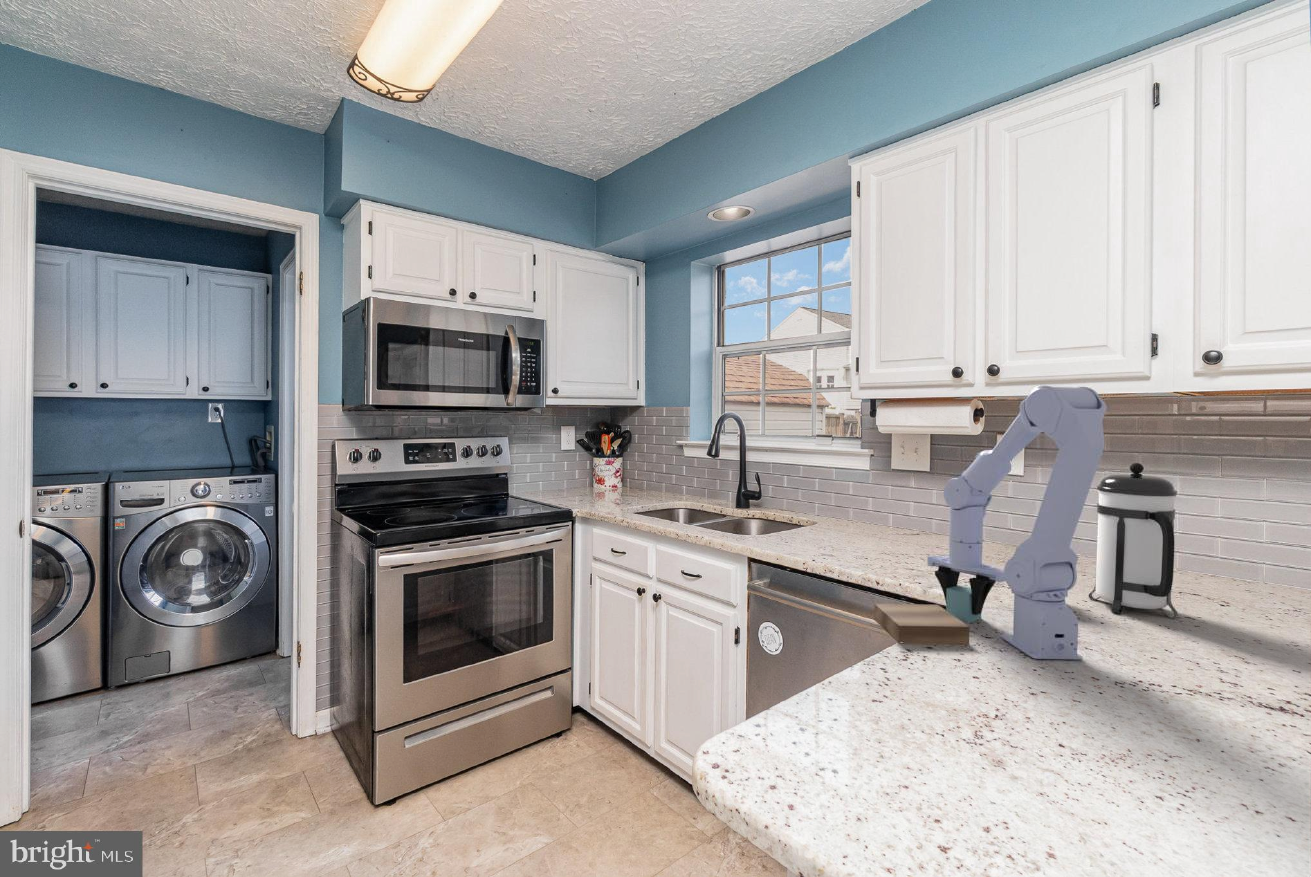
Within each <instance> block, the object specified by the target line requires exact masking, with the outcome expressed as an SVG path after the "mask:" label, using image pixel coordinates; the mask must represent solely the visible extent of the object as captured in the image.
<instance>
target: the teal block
mask: <svg viewBox="0 0 1311 877" xmlns="http://www.w3.org/2000/svg"><path fill="white" fill-rule="evenodd" d="M945 610H946V611H947V612H949V613H950V614H952V615H953V616H955V617H956V618H958V619H959V620H960V621H962V622H963V623H966V624H967V623H968V624H969V623H973V622H976V621H979V620H981V619H982V612H983V611H982V612H981V614H978V615H973V614H972V592H971V587H969V586H965V585H960V584H959V585H958V584H957V586H954V587H950V588H947V595H946V601H945Z"/></svg>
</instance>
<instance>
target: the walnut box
mask: <svg viewBox="0 0 1311 877" xmlns="http://www.w3.org/2000/svg"><path fill="white" fill-rule="evenodd" d="M873 612H874V614H873V616H874V618H873V619H874V621H875V622H876V623H877V624H878V625H879V626H880V627H881V628H882V629H883V630H884V631H885V632H886V633H887V634H888V635H889V636H890V637H892V639H894V641H895V642H897V643H898V644H901V643H900V642H903V643H902V644H918V645H919V644H920V645H921V644H922V645H924V644H925V645H926V644H927V645H928V644H930V645H934V644H935V645H970V625H968V624H967V623H966V622H964V621H960V620H959V619H958V618H956V617H955V616H953V615H952V614H950V613H949V612H947V611H946V608H943V607H942V606H940V605H939V604H923V603H922V604H919V603H918V604H915V603H913V604H911V603H909V604H907V603H874V611H873Z"/></svg>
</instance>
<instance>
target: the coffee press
mask: <svg viewBox="0 0 1311 877" xmlns="http://www.w3.org/2000/svg"><path fill="white" fill-rule="evenodd" d="M1128 468H1129V471H1130V472H1131V474H1112V475H1108V476H1106V477H1103V478H1102V479H1101V480H1100V483H1099V485H1097V486H1096V490H1097V492H1098V503H1097V504H1096V507H1097V508H1096V512H1097V513H1098V514H1097V533H1096V535H1097V536H1096V558H1095V559H1096V562H1095V579H1094V580H1095V583H1094V588H1093V589H1092V591H1091V592H1089V594H1088V599H1089V600H1091V601H1095V600H1099V599H1102V600H1104V601H1106V602H1109V603H1111V609H1110V610H1111V614H1117V615H1122V613H1123V611H1124V609H1125V608H1126V607H1128V608H1134V609H1135V608H1136V609H1145V610H1158V611H1160V612H1161V613H1162V614H1164V615H1165V617H1167V618H1168V619H1174V618H1177V617H1178V616H1179V612H1178V611H1177V610H1176V608H1175V607H1174V605H1173V603H1172V587H1173V583H1174V582H1173V581H1174V567H1175V565H1174V564H1175V531H1174V530H1175V522H1174V520H1175V519H1176V509H1175V498H1176V497H1177V495H1178V491H1177V489H1176V490H1175V487H1174V485H1173V483H1172V482H1171V481H1170V480H1167V479H1166V478H1162V477H1159V476H1152V475H1143V474H1142V472H1143V471H1144V469H1145V468H1144V466H1143V464H1141V463H1140V462H1134V463H1132V464H1131V465H1130V466H1129V467H1128ZM1094 593H1096V595H1097V596H1098V597H1096V598H1095V597H1094V596H1093V594H1094ZM1167 606H1168V607H1169V609H1170V610H1171V611H1172V613H1173V614H1174V615H1173V616H1172V615H1171V614H1170V613H1169V612H1168V611H1167V610H1166V609H1164V608H1165V607H1167Z"/></svg>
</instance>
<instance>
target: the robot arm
mask: <svg viewBox="0 0 1311 877" xmlns="http://www.w3.org/2000/svg"><path fill="white" fill-rule="evenodd" d="M1107 409H1108V406H1107V405H1106V403H1105V402H1104V400H1103V398H1101V396H1100V395H1099V394H1098V392H1097V391H1095V389H1092V388H1091V387H1088V386H1078V387H1077V386H1076V387H1069V386H1067V387H1066V386H1050V385H1040V386H1036V387H1035V388H1033V389H1031V391H1029V393H1028V395H1027V396H1026V398H1025V399H1024V400H1022V401H1021V402H1020V404H1019V413H1018V415H1017V416H1016V418H1015V419H1014V420H1013V422H1011V425H1010V426H1009V427H1008V428H1007V429H1006V431H1005V432H1004V434H1003V435H1002V436H1001V438H1000V439H999V441H998V442H997V443H996V444H995V445H994V447H993V449H984V450H982V451H980V452H977V454H976V455H975V457H974V458H975V459H974V460H973V462H972V463H971V464H970V465H969V466H968V467H967V469H966V470H963V472H962V473H961V475H959V476H958V477H957V478H950V479H949V480H947V482H946V484H945V485H944V488H943V498H944V501H945V504H947V505H948V507H950V508H949V539H948V542H949V543H948V544H949V546H948V547H949V548H948V557H945V556H940V555H932V554H931V555H929V556H927V563H926V564H927V567H932V568H933V567H936V568H937V570H935V571H934V576H935V577H936V579H937V581H938V582H939V585H940V588H941V591H942V593H943V596H944V600H945V602H946V595H947V588H950V587H954V586H958V584H959V578H960V574H961V573H963V574H967V575H970V576H975V577H971V578H970V577H969V579H968V582H969V586H970V588H971V592H972V614H973V615H978V614H981V615H982V613H981V612H983V608H984V605H985V601H986V600H987V597H988V595H989V593H990V592H991V590H992V588H993V587H994V585H995V584H996V582H998V583H1003V582H1006V585H1007V586H1008V588H1010V591H1011V594H1013V595H1014V596H1013V597H1014V598H1013V625H1012V627H1013V628H1012V634H1002V635H1001V638H1002V639H1003V640H1005V641H1006V642H1008V643H1009V644H1011V645H1012V646H1013V647H1015V648H1016V649H1018V650H1020V651H1021V652H1022V653H1024V654H1026V655H1027V656H1029V657H1030V658H1031V659H1035V660H1083V656H1082V654H1081V655H1080V654H1079V653H1078V644H1079V641H1078V640H1079V639H1078V638H1079V620H1078V616H1077V615H1076V613H1075V612H1074V611H1073V610H1072V609H1070V608H1069V607H1068V605H1067V604H1066V598H1068V596H1069V595H1068V592H1069V591H1070V590H1071V589H1073V588H1074V587H1075V586H1076V583H1077V580H1078V579H1077V578H1078V574H1077V563H1078V560H1079V556H1078V555H1077V553H1076V552H1075V551H1074V550H1073V549H1072V548H1071V547H1070V546H1071V543H1072V541H1073V538H1074V534H1075V533H1076V530H1077V527H1078V524H1079V520H1080V517H1081V515H1082V513H1083V510H1084V506H1085V503H1086V501H1087V498H1088V495H1089V492H1090V489H1091V487H1092V483H1093V480H1094V477H1095V475H1096V472H1097V469H1098V467H1099V464H1100V460H1101V457H1102V455H1103V452H1104V448H1105V436H1104V435H1105V434H1104V425H1103V420H1104V417H1105V414H1106V411H1107ZM1041 433H1044V434H1045V435H1046V436H1048V438H1050V439H1051V440H1052V441H1053V442H1054V443H1055V445H1056V447H1057V448H1058V451H1057V455H1056V457H1055V461H1054V463H1053V466H1052V471H1051V473H1050V476H1049V480H1048V482H1047V485H1046V488H1045V490H1044V491H1045V492H1044V495H1043V497H1042V501H1041V504H1040V507H1039V510H1038V513H1037V516H1036V520H1035V522H1034V525H1033V528H1032V531H1031V535H1030V536H1029V537H1028V538H1026V540H1024V541H1022V542H1021V543H1020V544H1019V545H1018V546H1017V547H1016V548H1015V551H1014V553H1013V556H1012V557H1010V558H1009V559H1008V560H1007V561H1006V563H1005V565H1004V569H1000V568H997V567H993V566H992V565H991V566H990V565H988V564H983V544H984V543H983V538H984V536H983V534H984V517H985V516H986V514H987V507H988V506H989V505H990V504H991V501H992V499H993V498H992V497H993V494H991V493H992V492H993V491H994V490H995V489H996V488H997V486H998V485H999V484H1000V483H1002V481H1003V480H1004V478H1006V477H1007V475H1009V474H1010V473H1011V471H1012V463H1011V461H1013V459H1015V457H1016V456H1017V455H1018V454H1020V453H1021V452H1022V451H1023V450H1024V449H1025V448H1026V447H1027V446H1028V445H1029V444H1030V443H1031V442H1032V441H1034V439H1036V438H1037V436H1039V435H1040V434H1041Z"/></svg>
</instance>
